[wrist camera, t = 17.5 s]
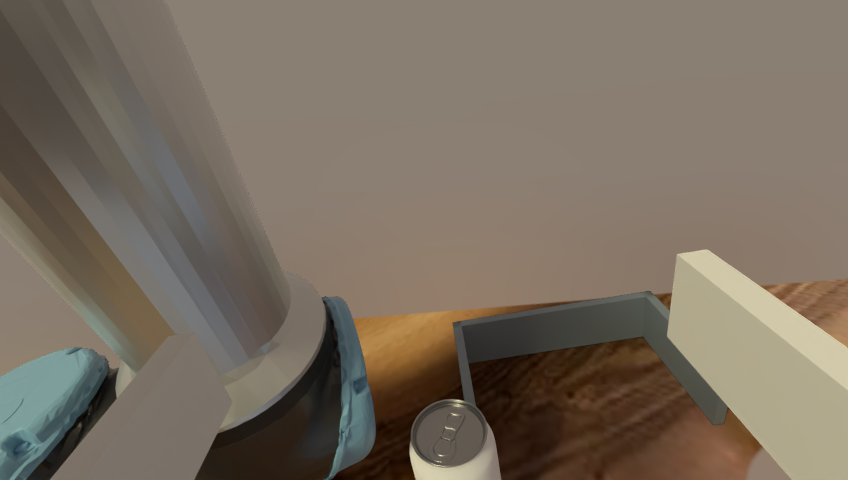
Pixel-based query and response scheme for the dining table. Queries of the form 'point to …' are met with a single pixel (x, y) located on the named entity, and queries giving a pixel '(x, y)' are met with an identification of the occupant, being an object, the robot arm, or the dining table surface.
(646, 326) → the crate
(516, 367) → the dining table surface
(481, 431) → the can
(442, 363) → the dining table surface
